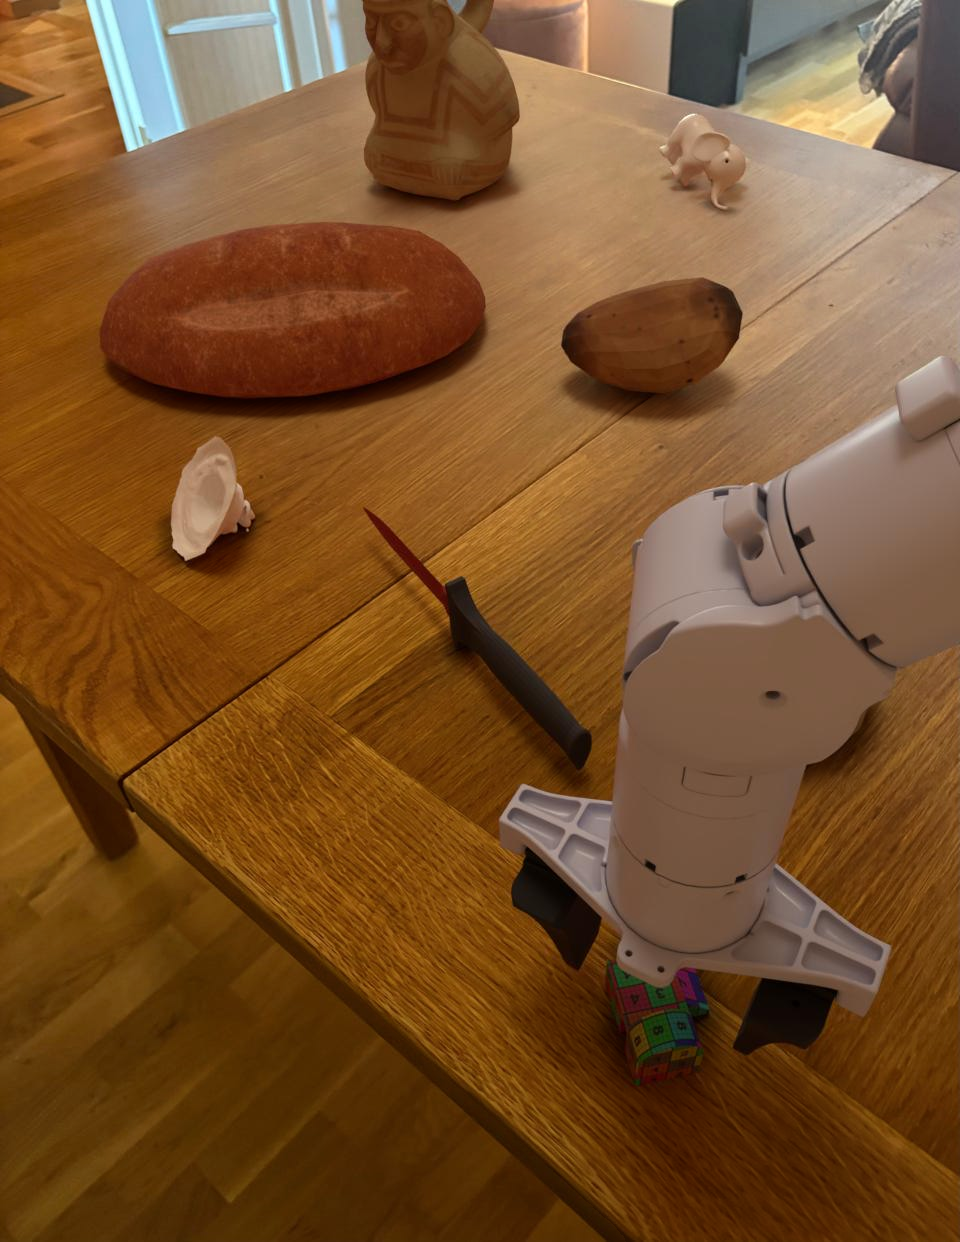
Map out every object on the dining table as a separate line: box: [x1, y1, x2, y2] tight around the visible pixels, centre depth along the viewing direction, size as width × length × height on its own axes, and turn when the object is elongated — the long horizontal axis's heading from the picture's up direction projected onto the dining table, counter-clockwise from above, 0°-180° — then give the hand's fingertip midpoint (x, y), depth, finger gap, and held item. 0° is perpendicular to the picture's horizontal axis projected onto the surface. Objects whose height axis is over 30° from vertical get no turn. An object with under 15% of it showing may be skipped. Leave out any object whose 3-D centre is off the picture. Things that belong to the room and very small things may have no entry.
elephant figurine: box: [658, 113, 751, 211], centre depth 101 cm, size 7×12×6 cm
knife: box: [362, 506, 593, 772], centre depth 60 cm, size 24×2×5 cm, turn 33°
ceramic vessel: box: [361, 0, 521, 201], centre depth 99 cm, size 17×20×25 cm
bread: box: [99, 221, 487, 399], centre depth 84 cm, size 22×32×9 cm
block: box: [604, 959, 711, 1087], centre depth 44 cm, size 6×4×3 cm
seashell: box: [170, 435, 256, 562], centre depth 68 cm, size 8×5×8 cm
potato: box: [560, 277, 744, 394], centre depth 77 cm, size 8×14×8 cm
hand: (662, 988), depth 44 cm, fingers open, 7 cm apart
